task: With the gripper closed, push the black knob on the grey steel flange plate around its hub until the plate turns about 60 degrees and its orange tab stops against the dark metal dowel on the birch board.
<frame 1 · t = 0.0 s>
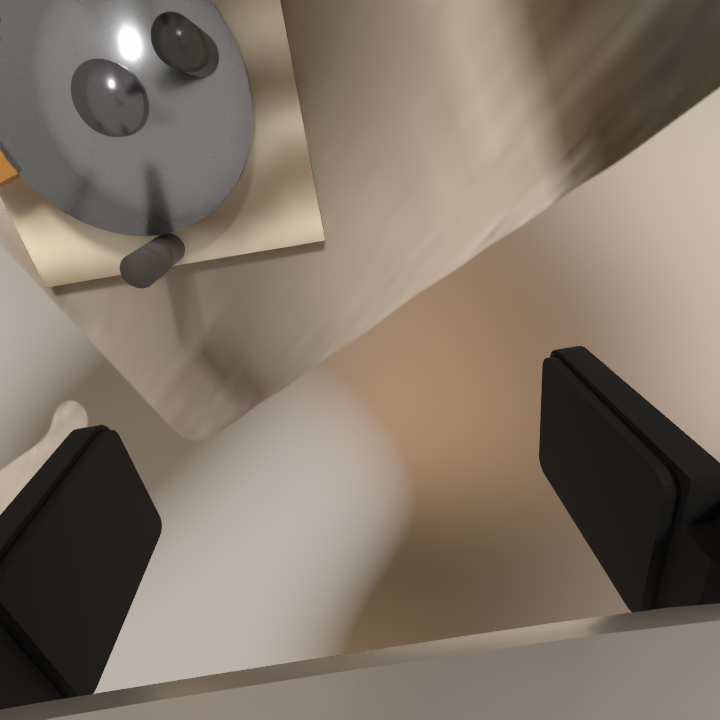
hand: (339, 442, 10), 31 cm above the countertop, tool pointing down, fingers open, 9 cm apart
flange plate: (85, 101, 29), point 5 cm above the countertop, hinge at 0.0°
base board: (134, 102, 33), on the countertop
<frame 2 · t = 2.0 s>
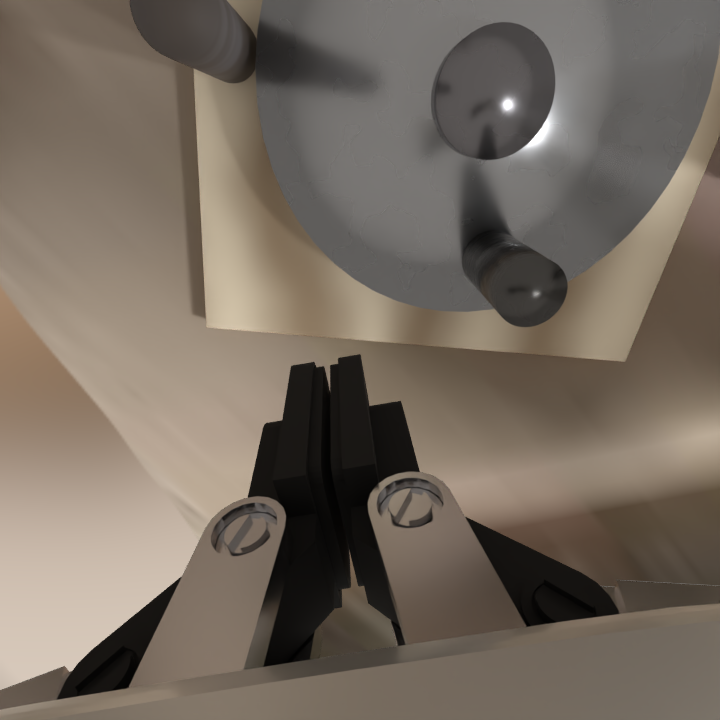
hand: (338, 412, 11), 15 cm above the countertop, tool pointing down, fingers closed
flange plate: (509, 54, 16), point 5 cm above the countertop, hinge at 0.0°
base board: (464, 102, 21), on the countertop
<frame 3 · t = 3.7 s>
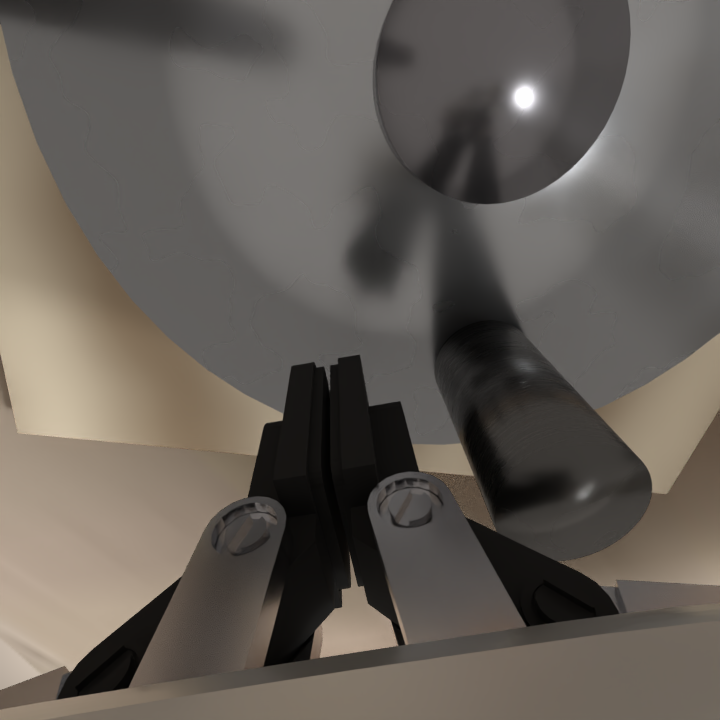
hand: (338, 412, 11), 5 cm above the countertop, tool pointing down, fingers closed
base board: (444, 92, 12), on the countertop
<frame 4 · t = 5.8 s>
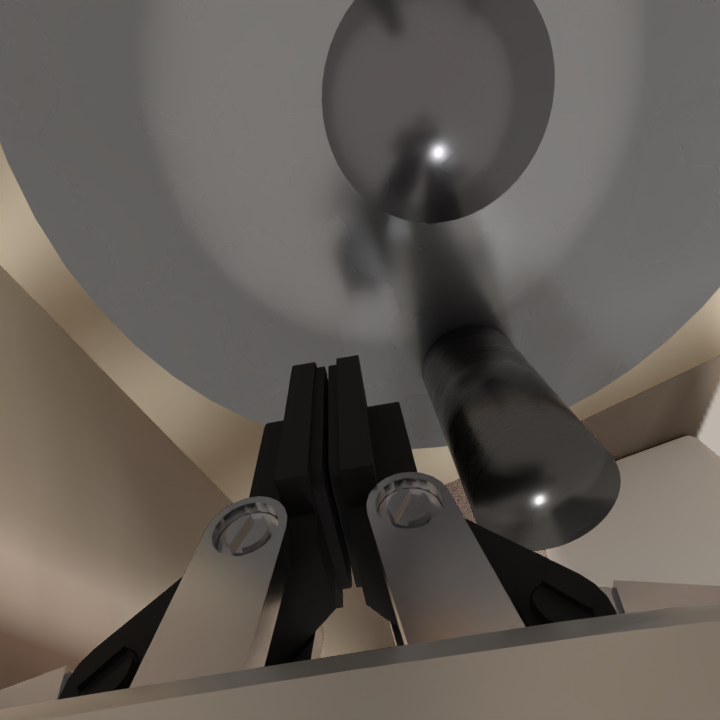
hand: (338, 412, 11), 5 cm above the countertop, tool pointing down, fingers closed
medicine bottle: (615, 513, 20), on the countertop
flange plate: (452, 18, 7), point 5 cm above the countertop, hinge at 58.9°, touching base board, gripper
base board: (403, 115, 13), on the countertop
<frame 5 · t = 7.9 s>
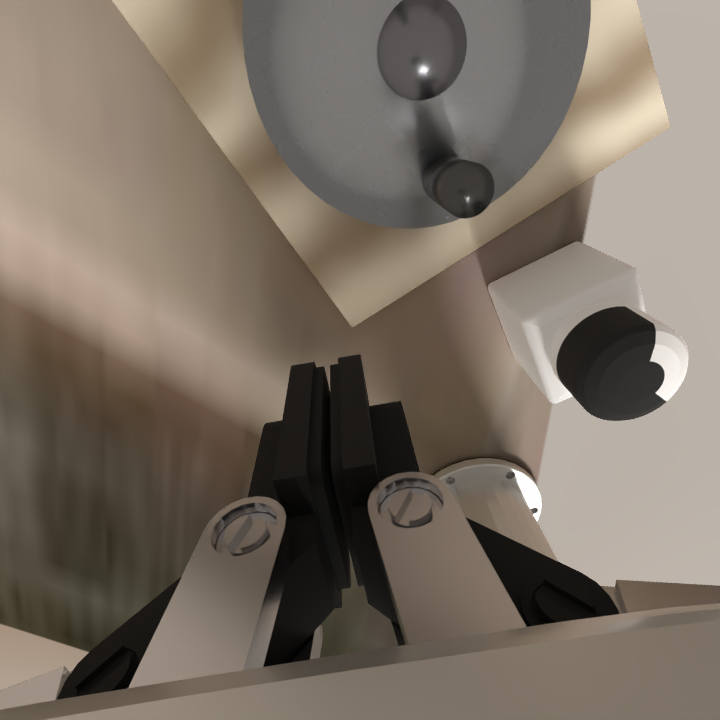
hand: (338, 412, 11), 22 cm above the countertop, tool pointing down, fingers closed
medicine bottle: (542, 301, 34), on the countertop
flange plate: (425, 16, 21), point 5 cm above the countertop, hinge at 58.9°, touching base board
base board: (407, 60, 26), on the countertop
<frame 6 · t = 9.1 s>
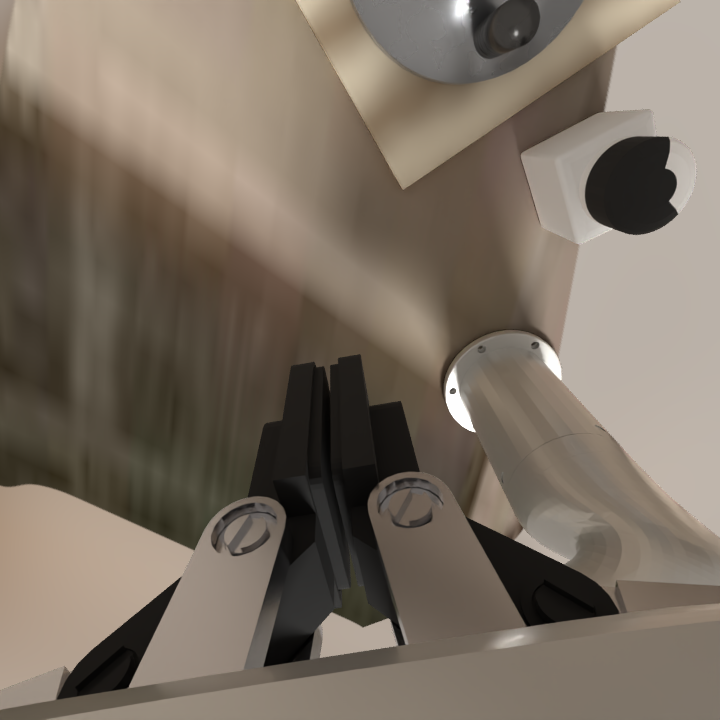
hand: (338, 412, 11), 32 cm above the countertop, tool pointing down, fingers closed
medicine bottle: (567, 172, 40), on the countertop
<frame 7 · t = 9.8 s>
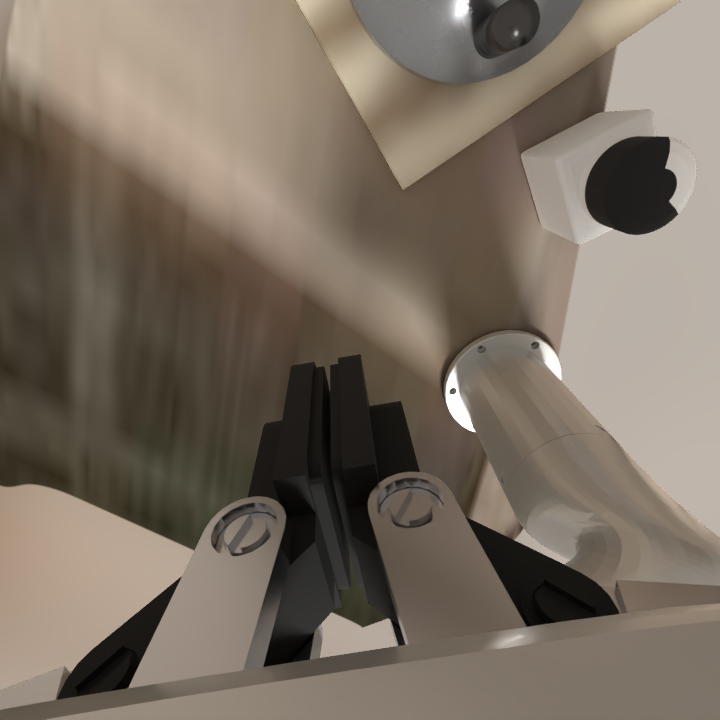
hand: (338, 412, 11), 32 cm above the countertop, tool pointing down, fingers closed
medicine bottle: (567, 172, 40), on the countertop
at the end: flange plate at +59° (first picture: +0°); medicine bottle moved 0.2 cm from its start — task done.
